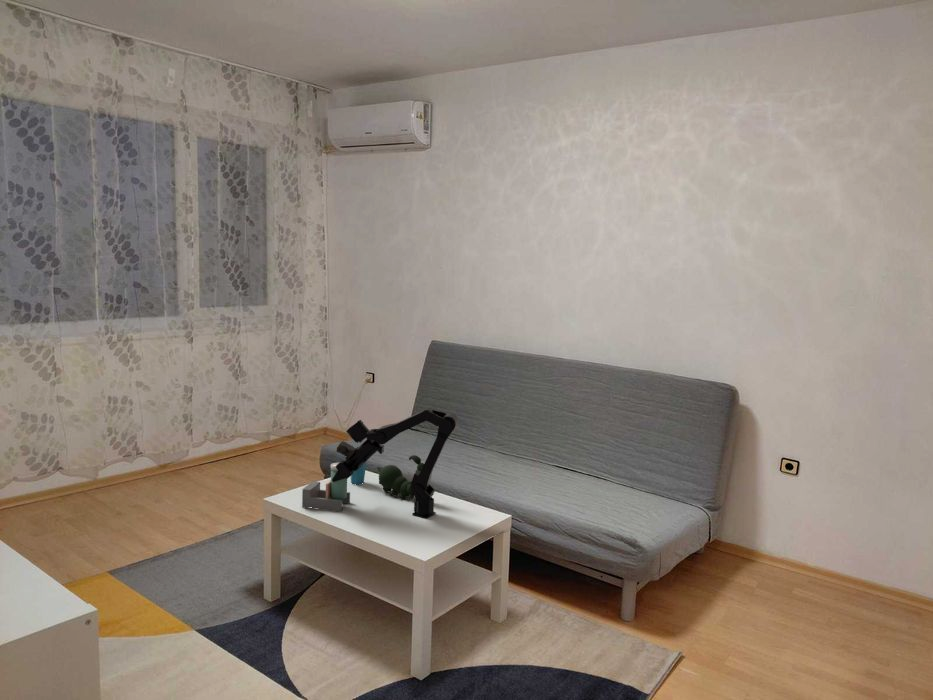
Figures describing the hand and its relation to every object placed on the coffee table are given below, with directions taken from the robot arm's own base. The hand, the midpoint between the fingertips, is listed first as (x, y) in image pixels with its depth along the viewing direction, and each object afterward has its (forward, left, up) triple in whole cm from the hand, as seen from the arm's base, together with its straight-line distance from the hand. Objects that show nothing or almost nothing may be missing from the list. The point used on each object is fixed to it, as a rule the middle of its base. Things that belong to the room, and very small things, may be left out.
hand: (335, 478), depth 252 cm
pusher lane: (+3, +1, -10) cm, 11 cm away
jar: (-1, -1, -7) cm, 7 cm away
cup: (+12, -27, -11) cm, 31 cm away
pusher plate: (+1, +1, -10) cm, 11 cm away
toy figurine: (-12, -25, -11) cm, 29 cm away
